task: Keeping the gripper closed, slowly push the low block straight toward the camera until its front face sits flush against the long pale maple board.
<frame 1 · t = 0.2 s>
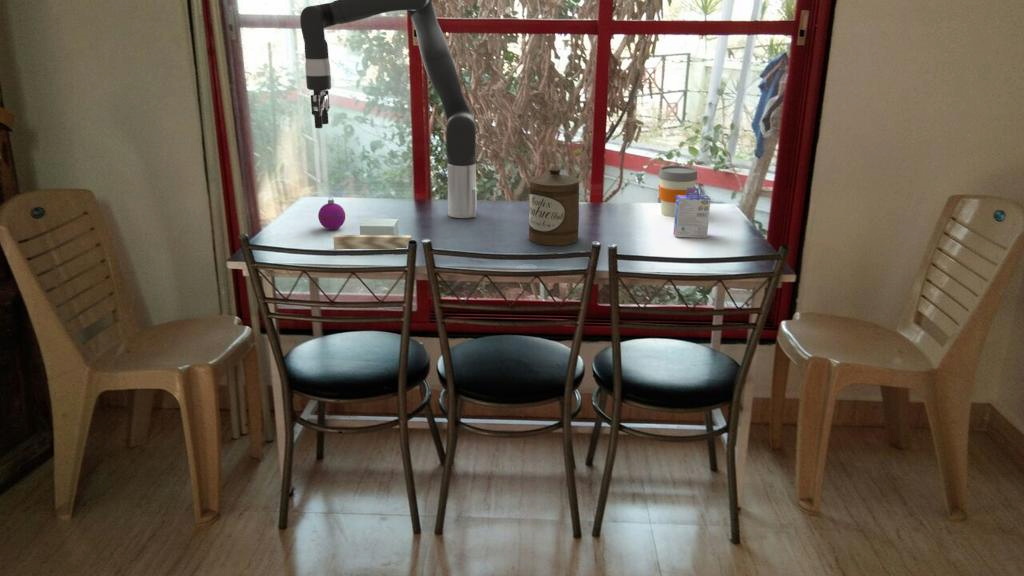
hand: (322, 126, 265), 29 cm above the table, fingers open, 8 cm apart
ink cartridge box: (689, 236, 255), on the table
board: (373, 249, 238), on the table
christmas ornament: (332, 229, 258), on the table
block: (379, 238, 250), on the table
reusable coffee cup: (674, 214, 279), on the table
wooden container: (553, 239, 250), on the table
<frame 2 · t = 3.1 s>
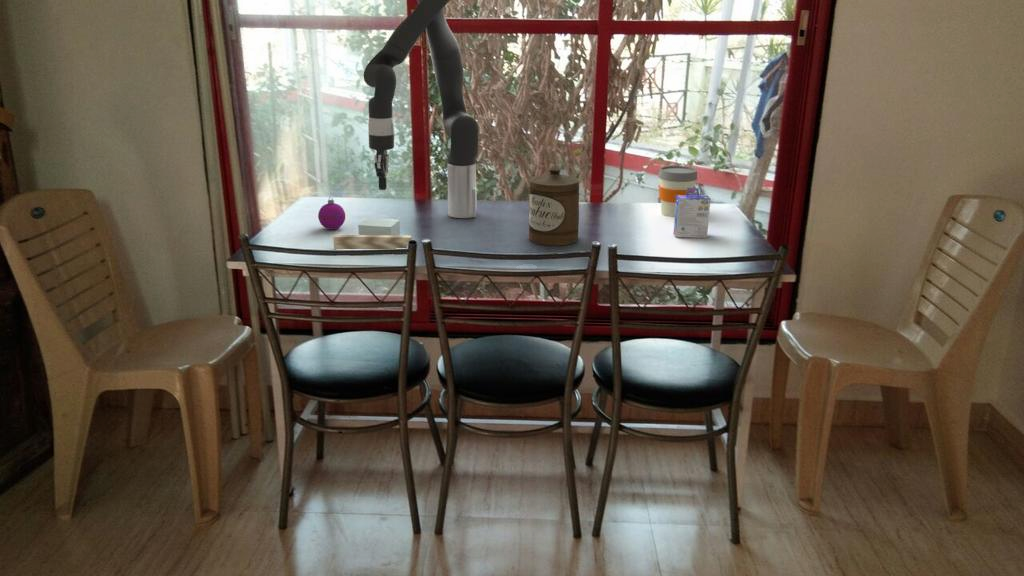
hand: (382, 189, 256), 12 cm above the table, fingers closed
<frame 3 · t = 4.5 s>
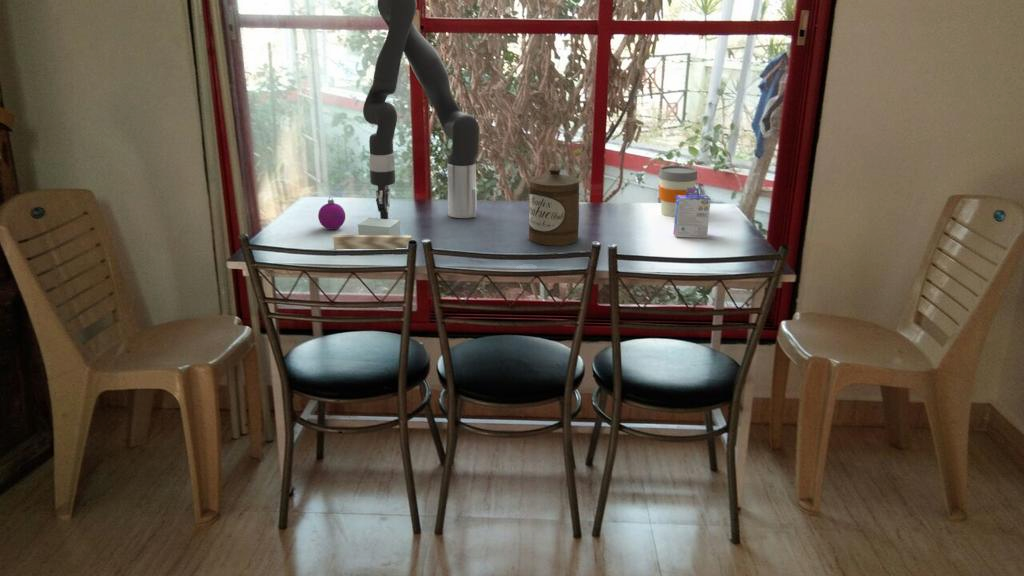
hand: (384, 223, 259), 2 cm above the table, fingers closed
nothing on the table moved.
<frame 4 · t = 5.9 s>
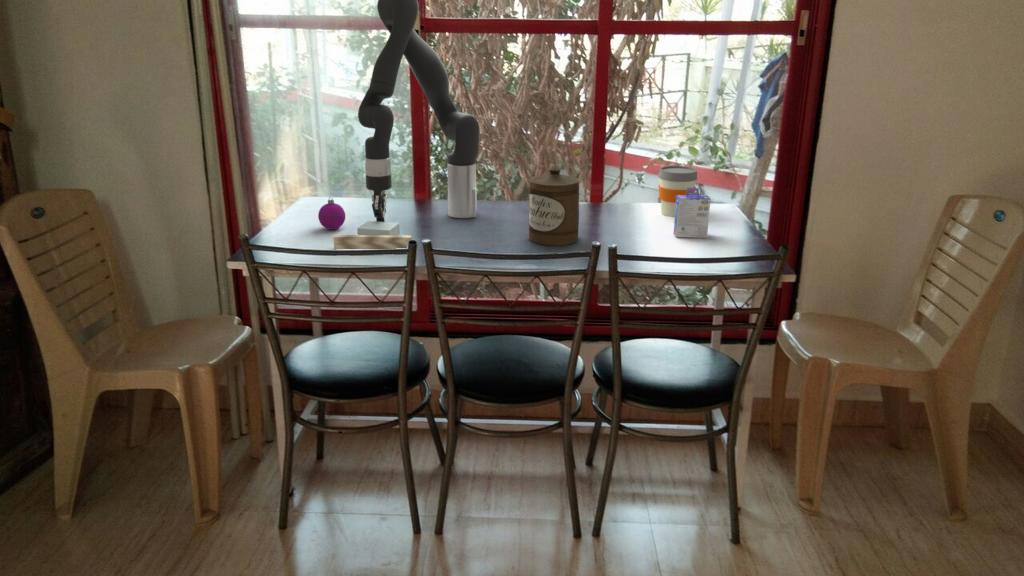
hand: (380, 229, 252), 2 cm above the table, fingers closed
block: (379, 241, 247), on the table, touching gripper
everything else where it was.
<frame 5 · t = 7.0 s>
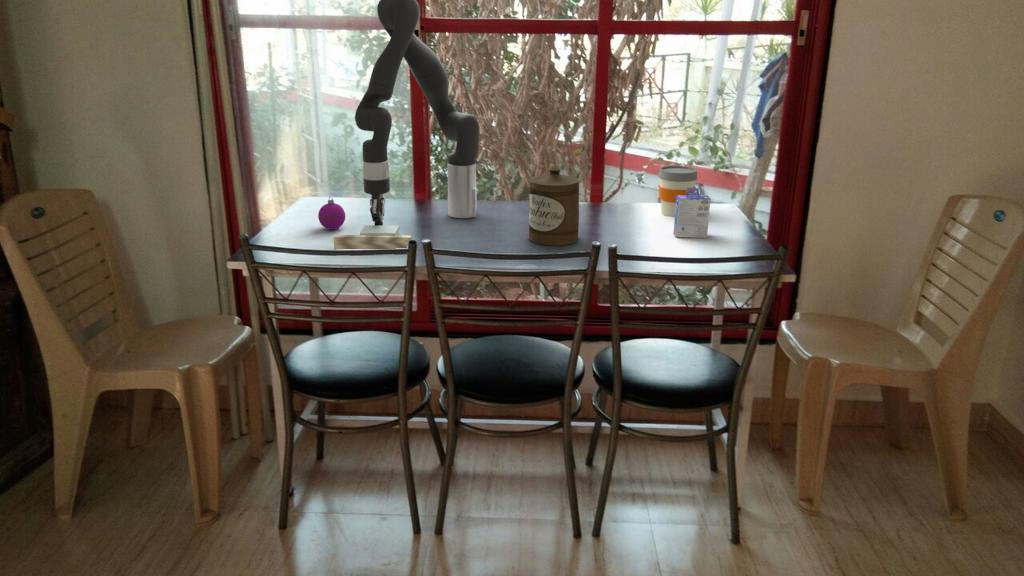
hand: (379, 233, 248), 2 cm above the table, fingers closed
block: (380, 245, 243), on the table, touching gripper
everything else where it was.
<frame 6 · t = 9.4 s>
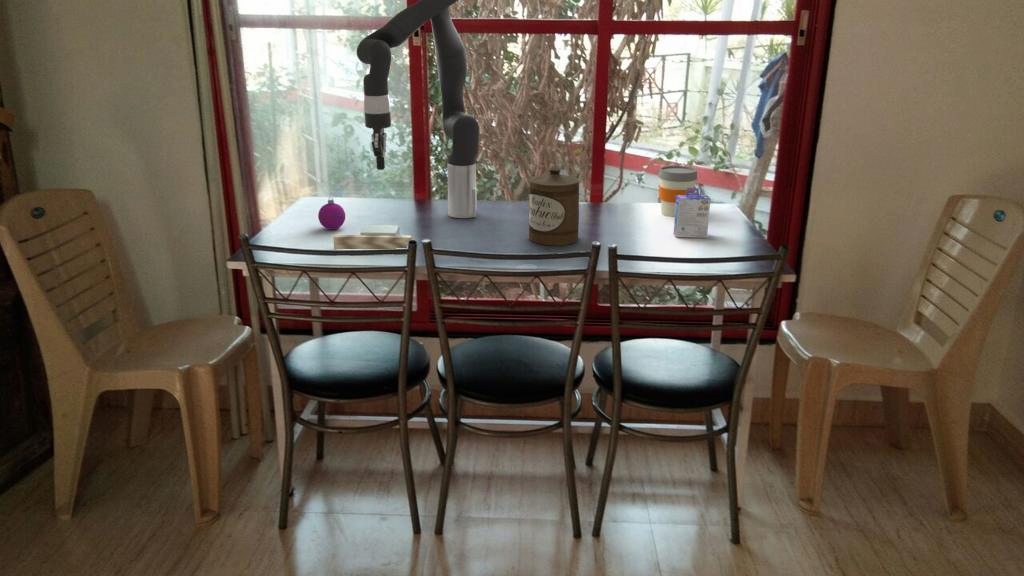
hand: (381, 169, 249), 19 cm above the table, fingers closed
block: (380, 245, 243), on the table
everything else where it was.
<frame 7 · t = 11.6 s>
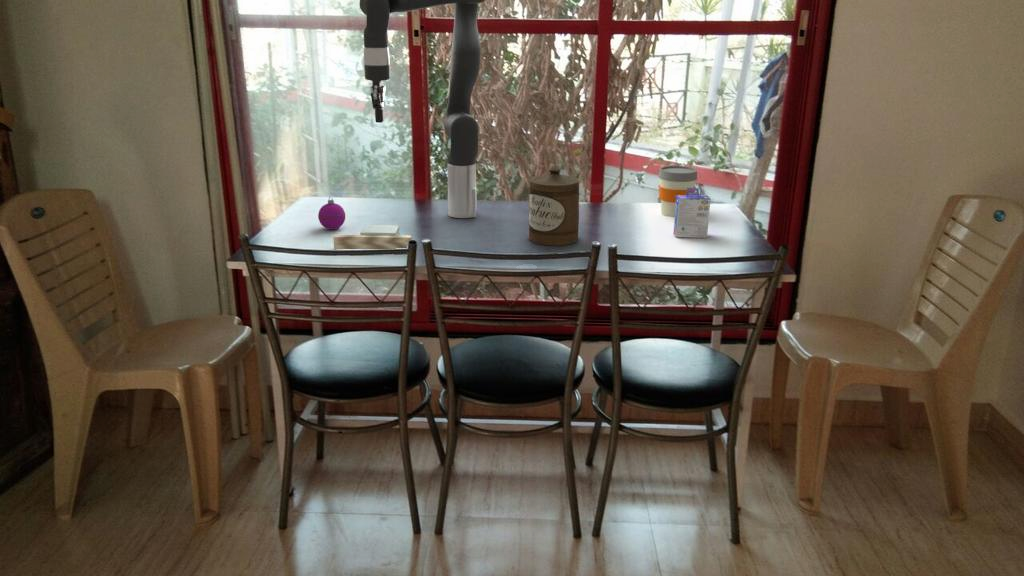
hand: (379, 122, 253), 32 cm above the table, fingers closed
nothing on the table moved.
at the end: block inside the target area on the table beside the board (1.3 cm from its centre), on the table; block moved 7.1 cm from its start; block tilted 0° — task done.
